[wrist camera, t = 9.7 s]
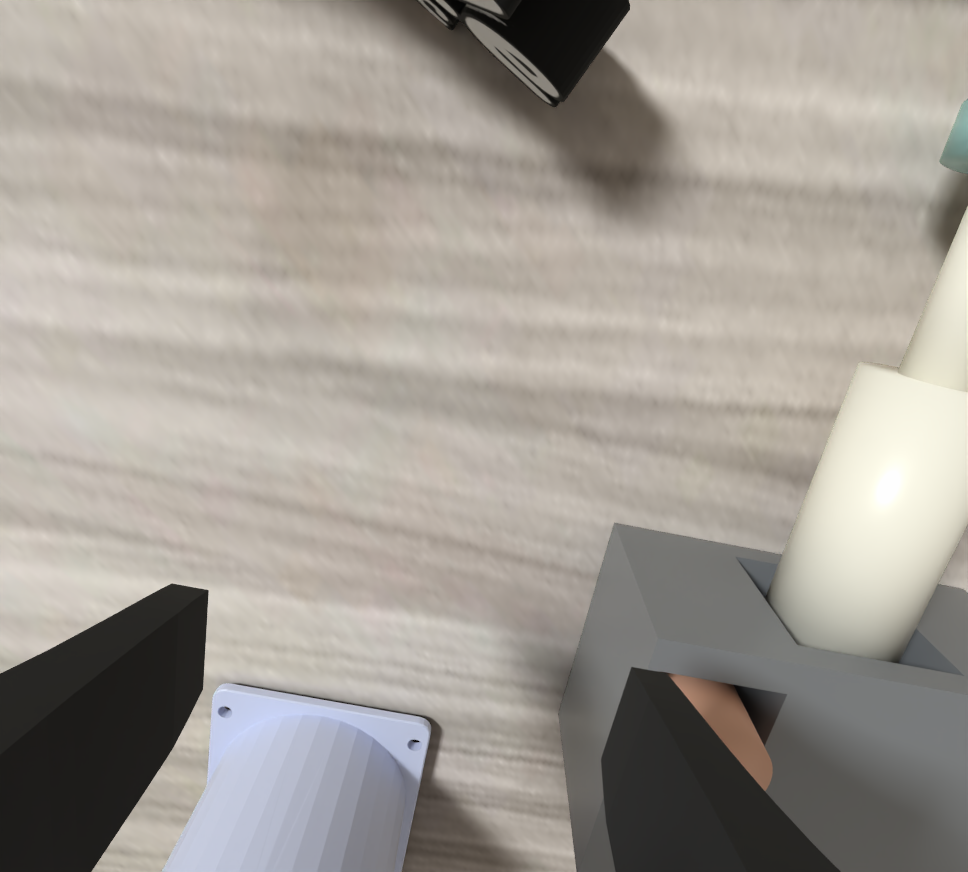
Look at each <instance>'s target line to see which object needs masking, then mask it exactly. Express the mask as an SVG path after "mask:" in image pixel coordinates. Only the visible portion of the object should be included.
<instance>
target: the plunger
mask: <svg viewBox="0 0 968 872" xmlns="http://www.w3.org/2000/svg"><path fill="white" fill-rule="evenodd" d="M659 672H661V671H659ZM663 673H667V672H663ZM667 674H668V676H669V677H670V678H671V679H672V680H673V681H674V682H675V684H676V685H677V686H678V687H679V688H680V690H681V691H682V692H683V693H684V695H685V696H686V697H687V698H688V699H689V701H690V702H691V703H692V704H693V706H694V707H695V708H696V709H697V711H698V712H699V713H700V714H701V715H702V717H703V718H704V719H705V720H706V722H707V723H708V724H709V725H710V727H711V728H712V729H713V730H714V731H715V733H716V734H717V735H718V736H719V738H720V739H721V740H722V741H723V742H724V744H725V745H726V746H727V747H728V749H729V750H730V751H731V752H732V753H733V755H734V756H735V757H736V758H737V759H738V760H739V762H740V763H741V764H742V765H743V766H744V768H745V769H746V770H747V771H748V772H749V773H750V775H751V776H752V777H753V778H754V779H755V780H756V782H757V783H758V784H759V785H760V786H761V787H762V788H763V790H764V791H766V789H767V788H768V786H769V784H770V781H771V779H772V774H773V767H772V762H771V759H770V757H769V755H768V753H767V751H766V749H765V747H764V745H763V743H762V741H761V739H760V737H759V735H758V733H757V731H756V729H755V727H754V725H753V723H752V721H751V719H750V717H749V715H748V713H747V711H746V709H745V707H744V705H743V703H742V701H741V699H740V697H739V695H738V693H737V691H736V689H735V687H734V685H733V684H727V683H722V682H716V681H711V680H705V679H700V678H694V677H689V676H683V675H678V674H672V673H667Z"/></svg>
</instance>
